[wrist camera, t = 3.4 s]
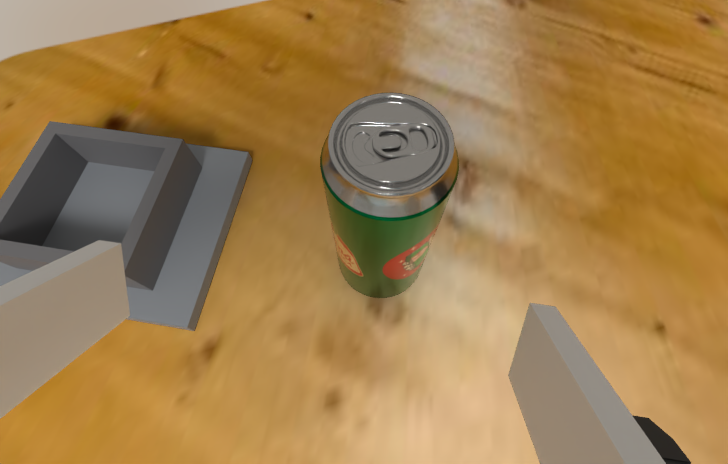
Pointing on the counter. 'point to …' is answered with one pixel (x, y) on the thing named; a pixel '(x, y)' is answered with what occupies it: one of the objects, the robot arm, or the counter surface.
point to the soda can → (387, 188)
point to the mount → (126, 212)
